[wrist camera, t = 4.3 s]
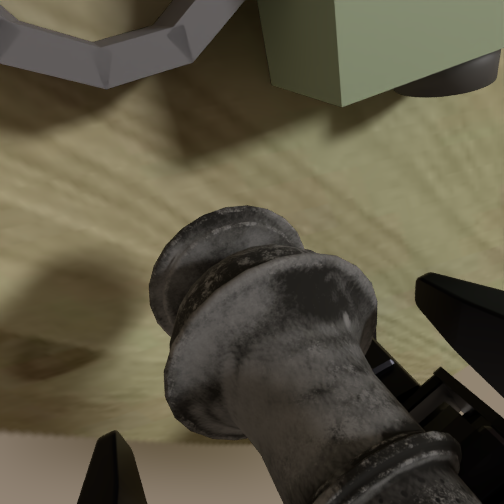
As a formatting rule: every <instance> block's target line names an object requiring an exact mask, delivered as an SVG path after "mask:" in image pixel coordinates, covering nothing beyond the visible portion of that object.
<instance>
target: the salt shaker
mask: <svg viewBox="0 0 504 504" xmlns="http://www.w3.org/2000/svg"><path fill="white" fill-rule="evenodd" d="M149 297H150V306H151V309H152V311H153V314H154V316H155V318H156V321H157V323H158V324H159V325H160V326H161V327H162V329H163V330H164V331H165V332H166V333H167V334H168V335H169V336H171V340H170V353H169V356H168V359H167V363H166V366H165V369H164V387H165V398H166V400H167V402H168V404H169V406H170V409H171V411H172V413H173V415H174V417H175V418H176V419H177V420H178V421H179V422H181V423H182V424H183V425H184V426H185V427H187V428H188V429H189V430H190V431H192V432H195V433H198V434H201V435H204V436H206V437H209V438H212V439H225V440H239V439H246V438H248V439H249V440H250V441H251V443H252V444H253V445H254V447H255V448H256V449H257V450H258V452H259V453H260V454H261V456H262V458H263V460H264V462H265V465H266V467H267V469H268V471H269V473H270V475H271V477H272V480H273V482H274V484H275V486H276V488H277V491H278V492H279V495H280V497H281V499H282V501H283V504H483V503H482V502H481V501H480V500H479V499H478V498H477V496H476V495H475V494H474V493H473V492H472V491H471V490H470V488H469V487H468V486H467V485H466V484H465V483H464V482H463V480H462V479H461V478H460V477H459V476H458V473H459V469H460V462H461V459H462V453H461V447H460V444H459V442H458V441H457V440H456V439H455V438H453V437H452V436H451V435H450V434H449V433H444V432H437V431H428V432H425V430H424V429H423V428H422V427H421V426H420V425H419V424H418V423H417V421H416V420H415V419H414V418H413V417H412V416H411V415H410V414H409V412H408V411H407V410H406V409H405V408H404V407H403V406H402V404H401V403H400V402H399V401H398V400H397V399H396V398H395V397H394V395H393V394H392V393H391V392H390V391H389V390H388V389H387V388H386V386H385V385H384V384H383V383H382V382H381V381H380V380H379V379H378V377H377V376H376V375H375V374H374V372H373V371H372V369H371V367H370V365H369V363H368V361H367V360H366V358H365V354H366V352H367V351H368V349H369V347H370V345H371V342H372V338H373V335H374V332H375V328H376V325H377V299H376V296H375V292H374V289H373V286H372V283H371V282H370V281H369V279H368V278H367V277H366V276H365V275H364V274H363V272H362V271H361V270H360V269H359V268H358V267H357V266H356V265H354V264H352V263H350V262H348V261H346V260H344V259H342V258H340V257H338V256H334V255H327V254H319V253H315V252H313V251H311V250H307V249H304V246H303V244H302V242H301V240H300V237H299V235H298V233H297V231H296V230H295V229H294V228H293V227H292V226H291V225H290V224H289V223H288V222H287V220H286V219H285V218H283V217H281V216H280V215H278V214H276V213H274V212H272V211H270V210H268V209H264V208H259V207H253V206H248V205H247V206H236V207H225V208H222V209H219V210H217V211H214V212H211V213H208V214H205V215H203V216H201V217H199V218H198V219H196V220H195V221H193V222H192V223H190V224H188V225H187V226H185V227H184V228H182V229H181V230H180V231H179V232H178V233H177V234H176V235H175V236H174V237H173V239H172V240H171V241H170V242H169V243H168V244H167V245H166V246H165V247H164V249H163V251H162V253H161V254H160V256H159V258H158V259H157V261H156V263H155V265H154V267H153V271H152V275H151V279H150V283H149Z"/></svg>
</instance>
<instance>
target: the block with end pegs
mask: <svg viewBox="0 0 504 504" xmlns="http://www.w3.org/2000/svg"><path fill="white" fill-rule="evenodd" d="M244 1H245V0H173V1H172V2H171V4H170V5H169V6H168V7H167V8H166V10H165V11H164V12H163V13H162V15H161V16H160V17H159V18H158V20H157V21H156V22H155V23H154V24H153V25H152V26H148V27H145V28H141V29H138V30H134V31H131V32H127V33H123V34H120V35H116V36H113V37H109V38H106V39H102V40H98V41H95V42H90V41H87V40H83V39H80V38H77V37H73V36H70V35H66V34H63V33H59V32H56V31H52V30H49V29H46V28H42V27H39V26H35V25H32V24H28V23H25V22H22V21H19V20H17V19H16V18H15V17H14V16H13V15H12V14H10V13H9V12H8V11H7V10H6V9H5V8H3V7H2V6H1V5H0V64H4V65H8V66H12V67H17V68H21V69H25V70H29V71H33V72H37V73H41V74H46V75H50V76H54V77H58V78H62V79H66V80H70V81H75V82H79V83H83V84H87V85H91V86H95V87H99V88H104V89H109V88H112V87H115V86H118V85H121V84H125V83H128V82H131V81H134V80H138V79H141V78H144V77H147V76H151V75H154V74H157V73H160V72H164V71H167V70H170V69H173V68H177V67H180V66H183V65H186V64H190V63H193V62H194V60H195V59H196V58H197V57H198V56H199V54H200V53H201V52H202V51H203V50H204V49H205V47H206V46H207V45H208V44H209V43H210V41H211V40H212V39H213V38H214V37H215V35H216V34H217V33H218V32H219V31H220V29H221V28H222V27H223V26H224V25H225V23H226V22H227V21H228V20H229V19H230V18H231V16H232V15H233V14H234V13H235V12H236V10H237V9H238V8H239V7H240V6H241V4H242V3H243V2H244ZM257 2H258V8H259V14H260V20H261V26H262V31H263V37H264V43H265V49H266V55H267V61H268V67H269V73H270V78H271V84H272V85H273V86H277V87H280V88H283V89H286V90H289V91H292V92H295V93H299V94H302V95H305V96H308V97H311V98H314V99H317V100H321V101H324V102H327V103H330V104H333V105H336V106H340V107H344V106H347V105H349V104H352V103H355V102H358V101H360V100H363V99H366V98H369V97H371V96H374V95H377V94H379V93H382V92H385V91H388V90H390V89H393V90H394V91H395V92H397V93H399V94H401V95H405V96H411V97H443V96H451V95H458V94H463V93H467V92H471V91H475V90H478V89H481V88H483V87H486V86H488V85H490V84H491V83H493V82H494V81H495V80H496V78H497V73H498V66H499V59H500V53H501V49H502V48H504V0H257Z"/></svg>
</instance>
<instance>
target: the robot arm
mask: <svg viewBox="0 0 504 504" xmlns="http://www.w3.org/2000/svg"><path fill="white" fill-rule="evenodd" d="M415 302H416V305H417V306H418V308H419V309H420V310H421V311H422V313H423V314H424V315H425V316H426V317H427V318H428V320H429V321H430V322H431V323H432V324H433V326H434V327H435V328H436V329H437V330H438V331H439V333H440V334H441V335H442V336H443V337H444V339H445V340H446V341H447V342H448V343H449V344H450V346H451V347H452V348H453V349H454V350H455V351H456V352H457V353H458V354H459V355H460V356H461V357H462V358H463V359H464V360H465V361H466V362H467V363H468V364H469V365H470V366H471V367H472V368H473V369H474V370H475V371H476V372H477V373H479V374H480V375H481V376H482V377H483V378H484V379H485V380H486V381H487V382H488V383H489V384H490V385H491V386H492V387H493V388H494V389H495V390H496V391H497V392H498V393H499V394H500V395H501V396H502V397H503V398H504V291H503V290H499V289H495V288H491V287H487V286H483V285H479V284H476V283H472V282H468V281H464V280H460V279H456V278H452V277H448V276H444V275H440V274H437V273H432V272H430V273H426V274H424V275H422V276H420V277H418V278H417V280H416V286H415ZM365 358H366V360H367V361H368V363H369V365H370V367H371V369H372V371H373V372H374V374H375V375H376V376H377V377H378V379H379V380H380V381H381V382H382V383H383V384H384V385H385V386H386V388H387V389H388V390H389V391H390V392H391V393H392V394H393V395H394V397H395V398H396V399H397V400H398V401H399V402H400V403H401V404H402V406H403V407H404V408H405V409H406V410H407V411H408V412H409V414H410V415H411V416H412V417H413V418H414V419H415V420H416V421H417V423H418V424H419V425H420V426H421V427H422V428H423V429H424V430H425V432H428V431H437V432H444V433H449V434H450V435H451V436H452V437H453V438H455V439H456V440H457V441H458V442H459V444H460V447H461V453H462V459H461V462H460V469H459V473H458V476H459V477H460V478H461V479H462V480H463V482H464V483H465V484H466V485H467V486H468V487H469V488H470V490H471V491H472V492H473V493H474V494H475V495H476V496H477V498H478V499H479V500H480V501H481V502H482V503H483V504H504V419H503V418H502V417H501V416H500V415H499V414H498V413H496V412H495V411H494V410H493V409H491V408H490V407H489V406H488V405H487V404H485V403H484V402H483V401H482V400H480V399H479V398H478V397H477V396H476V395H474V394H473V393H472V392H471V391H469V390H468V389H467V388H466V387H465V386H464V385H462V384H461V383H460V382H459V381H457V380H456V379H455V378H454V377H453V376H451V375H450V374H449V373H448V372H447V371H445V370H444V369H443V368H442V367H439V368H438V369H437V370H436V371H435V372H434V373H433V374H434V375H433V376H432V377H431V378H430V379H428V380H427V381H426V382H425V383H424V384H423V385H422V386H421V385H420V384H419V383H418V382H417V381H416V380H415V379H414V378H413V377H412V376H411V375H410V374H409V373H408V372H407V371H406V370H405V369H404V368H403V367H402V366H401V365H400V364H399V363H398V362H397V361H396V360H395V359H394V358H393V357H392V356H391V355H390V354H389V353H388V352H387V351H386V350H385V349H384V348H383V347H382V346H381V345H380V344H379V343H378V342H377V341H376V328H375V332H374V335H373V338H372V342H371V345H370V347H369V349H368V351H367V352H366V354H365ZM460 411H462V412H463V413H464V415H461V414H459V412H460ZM77 504H147V501H146V498H145V494H144V491H143V487H142V483H141V480H140V476H139V472H138V469H137V465H136V461H135V457H134V454H133V452H132V449H131V448H130V446H129V445H128V444H127V442H126V441H125V440H124V438H123V437H122V436H121V435H120V433H119V432H118V431H116V430H114V431H111V432H109V433H107V434H105V435H103V436H101V437H100V438H99V439H98V440H97V443H96V446H95V449H94V452H93V455H92V458H91V461H90V464H89V468H88V471H87V474H86V477H85V480H84V483H83V486H82V490H81V493H80V496H79V499H78V502H77Z"/></svg>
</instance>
